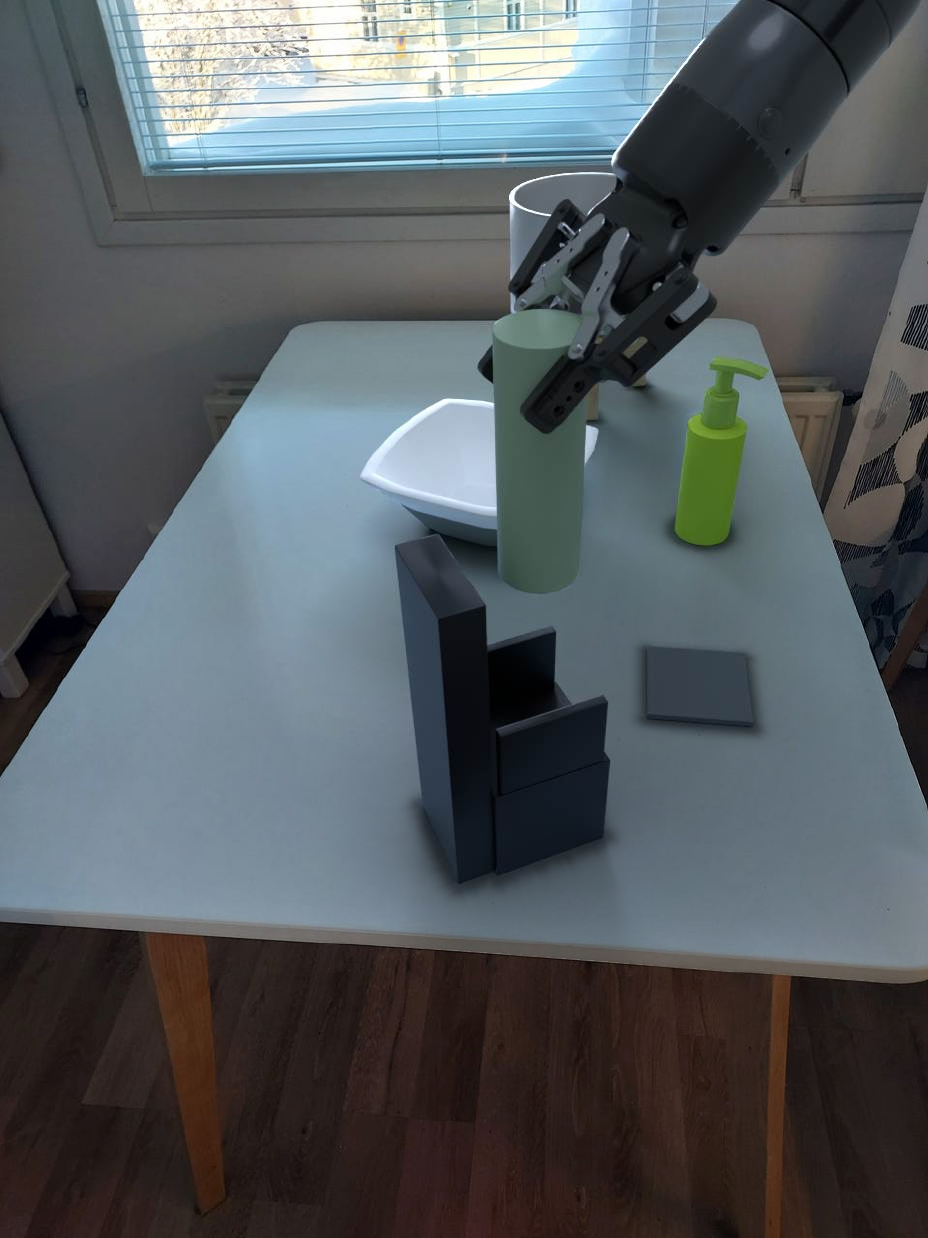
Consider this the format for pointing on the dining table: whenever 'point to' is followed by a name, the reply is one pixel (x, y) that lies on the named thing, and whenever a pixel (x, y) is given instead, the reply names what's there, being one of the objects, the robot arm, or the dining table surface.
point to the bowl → (446, 468)
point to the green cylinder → (536, 457)
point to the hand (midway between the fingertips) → (510, 400)
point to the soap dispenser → (713, 457)
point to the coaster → (698, 686)
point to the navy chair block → (494, 727)
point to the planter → (533, 212)
